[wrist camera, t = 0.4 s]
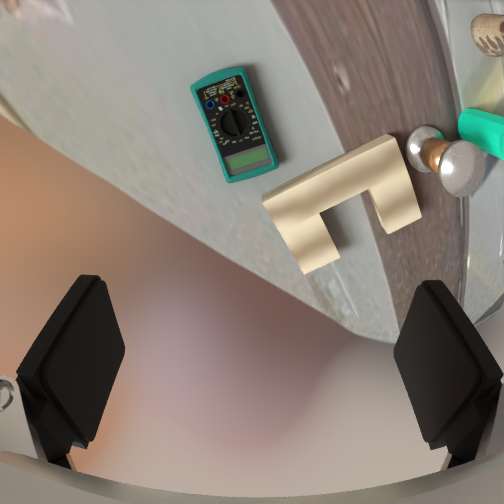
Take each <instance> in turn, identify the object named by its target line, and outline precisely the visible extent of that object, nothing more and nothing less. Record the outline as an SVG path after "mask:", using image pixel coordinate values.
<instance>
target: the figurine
mask: <svg viewBox="0 0 504 504" xmlns="http://www.w3.org/2000/svg"><path fill="white" fill-rule="evenodd" d="M471 32H472V37H473V40H474V42H475V44H476V45H477V47H478V48H479V49H480V50H481V51H482V52H483V53H484V54H486V55H489V56H502V55H504V15H497V14H481V15H479V16H477V17H475V18H474V19H473V21H472V23H471Z"/></svg>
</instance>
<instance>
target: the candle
mask: <svg viewBox="0 0 504 504" xmlns="http://www.w3.org/2000/svg"><path fill="white" fill-rule="evenodd" d="M458 131H459V134H460V136H461V138H462V140H466V141H468V142H471V143H473V144H475V145H476V146H477V147H478V148H479V149H481V150H483V151H485V152H487V153H490V154H492V155H494V156H496V157H498V158H500V159H502V160H504V117H503V116H500V115H496V114H493V113H489V112H486V111H482V110H478V109H472V108H468V109H466V110H465V111H463V112H462V113H461V115H460V118H459V120H458Z"/></svg>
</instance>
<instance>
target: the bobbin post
mask: <svg viewBox="0 0 504 504" xmlns="http://www.w3.org/2000/svg"><path fill="white" fill-rule="evenodd" d="M404 151H405V156H406V159H407V161H408V163H409V164H410V165H411V166H412V167H413V168H415V169H416V170H418V171H420V172H423V173H429V172H434V173H436V174H438V176H439V180H440V182H441V184H442V186H443V187H444V188H445V189H446V190H447V191H448V192H449V193H451V194H452V195H454V196H457V197H465V196H468V195H470V194H472V193H473V192H475V191H476V190H477V188H478V187H479V186H480V184H481V182H482V180H483V177H484V173H485V160H484V156H483V154H482V152H481V150H480V149H479V148H478V147H477V146H476V145H475V144H473V143H471V142H468V141H466V140H457V141H454V142H452V143H450V142H448V141H445V139H444V137H443V135H442V134H441V133H440V132H439V131H438V130H437V129H435V128H432V127H430V126H419V127H417V128H415V129H413V130H412V131H411V132H410V133H409V135H408V136H407V139H406V141H405V147H404Z"/></svg>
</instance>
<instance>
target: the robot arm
mask: <svg viewBox="0 0 504 504" xmlns="http://www.w3.org/2000/svg"><path fill="white" fill-rule="evenodd" d="M124 354H125V345H124V342H123V339H122V336H121V332H120V329H119V326H118V323H117V320H116V317H115V313H114V310H113V307H112V303H111V300H110V296H109V293H108V289H107V285H106V283H105V281H103V280H101V278H100V277H99V276H97V275H80V276H79V277H78V278H77V280H76V281H75V282H74V284H73V285H72V287H71V288H70V289H69V291H68V292H67V294H66V295H65V296H64V298H63V299H62V301H61V302H60V304H59V305H58V306H57V308H56V309H55V311H54V312H53V314H52V315H51V317H50V318H49V320H48V321H47V323H46V324H45V326H44V328H43V329H42V330H41V332H40V333H39V335H38V336H37V338H36V340H35V341H34V343H33V344H32V346H31V348H30V349H29V351H28V353H27V354H26V356H25V357H24V359H23V361H22V362H21V364H20V366H19V368H18V370H17V371H16V373H17V374H18V377H17V378H16V380H14V379H13V378H12V377H10V376H7V375H0V504H504V383H503V384H502V383H501V381H500V380H501V378H502V377H503V375H504V374H503V372H502V371H501V369H500V367H499V365H498V364H497V362H496V360H495V359H494V357H493V355H492V354H491V352H490V351H489V349H488V347H487V346H486V344H485V342H484V341H483V339H482V338H481V336H480V335H479V333H478V332H477V330H476V328H475V327H474V325H473V324H472V322H471V321H470V319H469V318H468V317H467V315H466V314H465V312H464V311H463V309H462V308H461V306H460V305H459V304H458V302H457V301H456V299H455V298H454V296H453V295H452V294H451V292H450V291H449V290H448V288H447V287H446V285H445V284H444V283H443V282H442V281H441V280H425V281H423V282H422V283H421V285H419V286H418V287H417V289H416V291H415V294H414V297H413V300H412V303H411V306H410V308H409V311H408V314H407V317H406V319H405V322H404V324H403V327H402V330H401V332H400V335H399V337H398V340H397V342H396V345H395V347H394V358H395V361H396V364H397V366H398V369H399V371H400V374H401V377H402V379H403V382H404V385H405V387H406V390H407V393H408V396H409V398H410V401H411V404H412V407H413V410H414V413H415V415H416V418H417V421H418V424H419V427H420V430H421V433H422V436H423V439H424V441H425V442H428V443H429V446H430V449H431V450H434V449H437V448H441V447H444V446H446V445H447V448H448V453H447V456H446V458H445V461H444V463H443V466H442V468H441V470H440V471H439V472H436V473H432V474H429V475H426V476H422V477H418V478H414V479H410V480H406V481H401V482H398V483H393V484H388V485H383V486H378V487H372V488H366V489H360V490H354V491H347V492H340V493H331V494H322V495H311V496H298V497H297V496H296V497H271V498H270V497H269V498H248V497H222V496H208V495H196V494H186V493H178V492H170V491H164V490H157V489H151V488H145V487H140V486H135V485H130V484H125V483H121V482H116V481H112V480H108V479H104V478H99V477H96V476H92V475H88V474H84V473H81V472H78V471H77V469H76V467H75V464H74V462H73V460H72V458H71V455H70V453H69V452H70V449H71V446H72V445H73V446H76V447H80V448H83V449H87V447H88V443H89V441H90V442H91V441H93V440H94V438H95V436H96V433H97V430H98V427H99V424H100V421H101V418H102V415H103V412H104V409H105V406H106V403H107V400H108V398H109V395H110V392H111V389H112V386H113V384H114V381H115V378H116V376H117V372H118V370H119V368H120V364H121V362H122V360H123V357H124Z"/></svg>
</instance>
